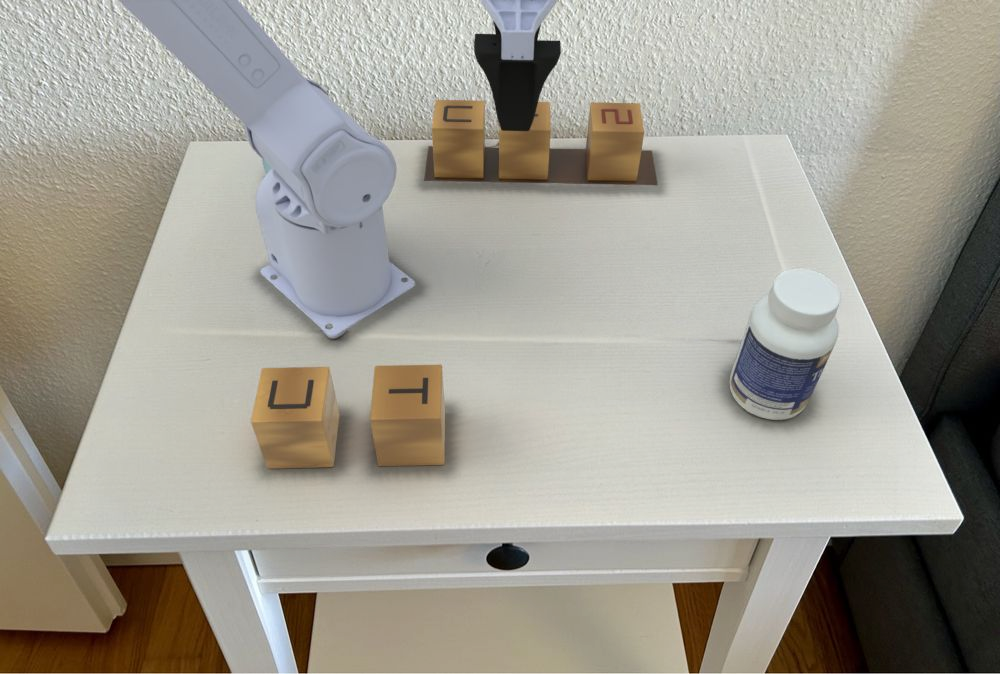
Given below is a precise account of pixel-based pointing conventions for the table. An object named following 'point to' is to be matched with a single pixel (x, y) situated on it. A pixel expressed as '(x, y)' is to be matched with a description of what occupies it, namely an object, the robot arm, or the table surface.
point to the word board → (552, 169)
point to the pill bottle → (786, 345)
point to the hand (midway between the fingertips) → (515, 98)
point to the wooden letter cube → (614, 141)
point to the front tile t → (408, 415)
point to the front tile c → (296, 417)
